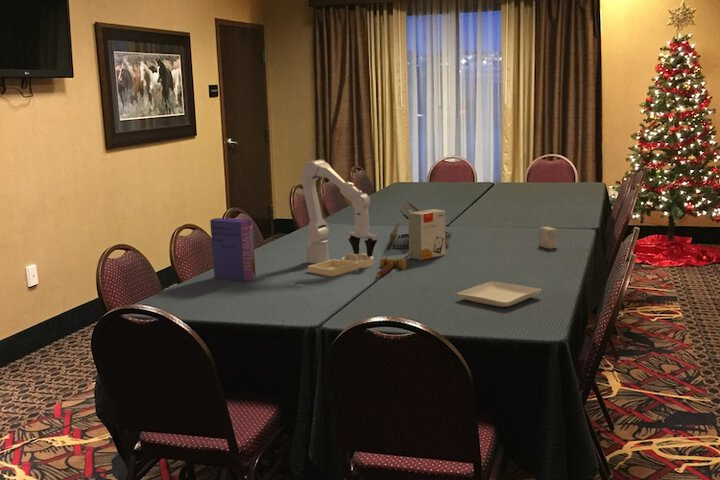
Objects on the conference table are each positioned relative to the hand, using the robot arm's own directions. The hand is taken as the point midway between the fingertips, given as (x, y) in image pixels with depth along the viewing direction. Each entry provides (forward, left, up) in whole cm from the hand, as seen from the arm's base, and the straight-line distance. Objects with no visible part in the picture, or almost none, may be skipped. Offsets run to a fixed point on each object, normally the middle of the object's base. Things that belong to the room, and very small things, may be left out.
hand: (363, 255), depth 328 cm
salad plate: (+75, -12, -5) cm, 76 cm away
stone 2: (0, 0, -4) cm, 4 cm away
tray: (-3, -15, -5) cm, 16 cm away
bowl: (-2, -2, -5) cm, 5 cm away
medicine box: (+44, +74, -5) cm, 86 cm away
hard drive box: (+11, +29, -5) cm, 32 cm away
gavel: (+16, -3, -5) cm, 17 cm away
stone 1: (-4, -3, -4) cm, 6 cm away
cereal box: (-28, -46, -5) cm, 54 cm away
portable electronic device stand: (-13, +54, -5) cm, 55 cm away
